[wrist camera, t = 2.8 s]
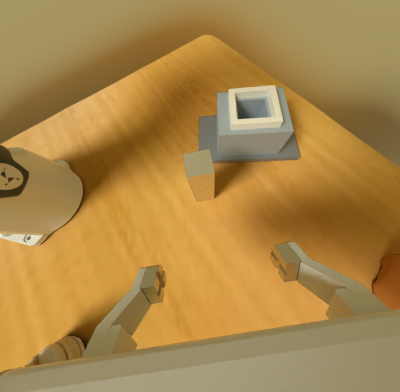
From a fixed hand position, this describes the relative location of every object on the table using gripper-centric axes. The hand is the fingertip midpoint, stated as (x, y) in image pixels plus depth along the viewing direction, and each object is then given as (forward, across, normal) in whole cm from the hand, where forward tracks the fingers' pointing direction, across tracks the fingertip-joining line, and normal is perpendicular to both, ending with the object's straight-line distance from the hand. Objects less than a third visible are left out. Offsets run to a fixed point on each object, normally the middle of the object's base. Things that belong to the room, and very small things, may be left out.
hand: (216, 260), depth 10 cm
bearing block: (+26, -11, -5) cm, 29 cm away
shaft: (+19, 0, +3) cm, 19 cm away
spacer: (+21, -11, -10) cm, 26 cm away
